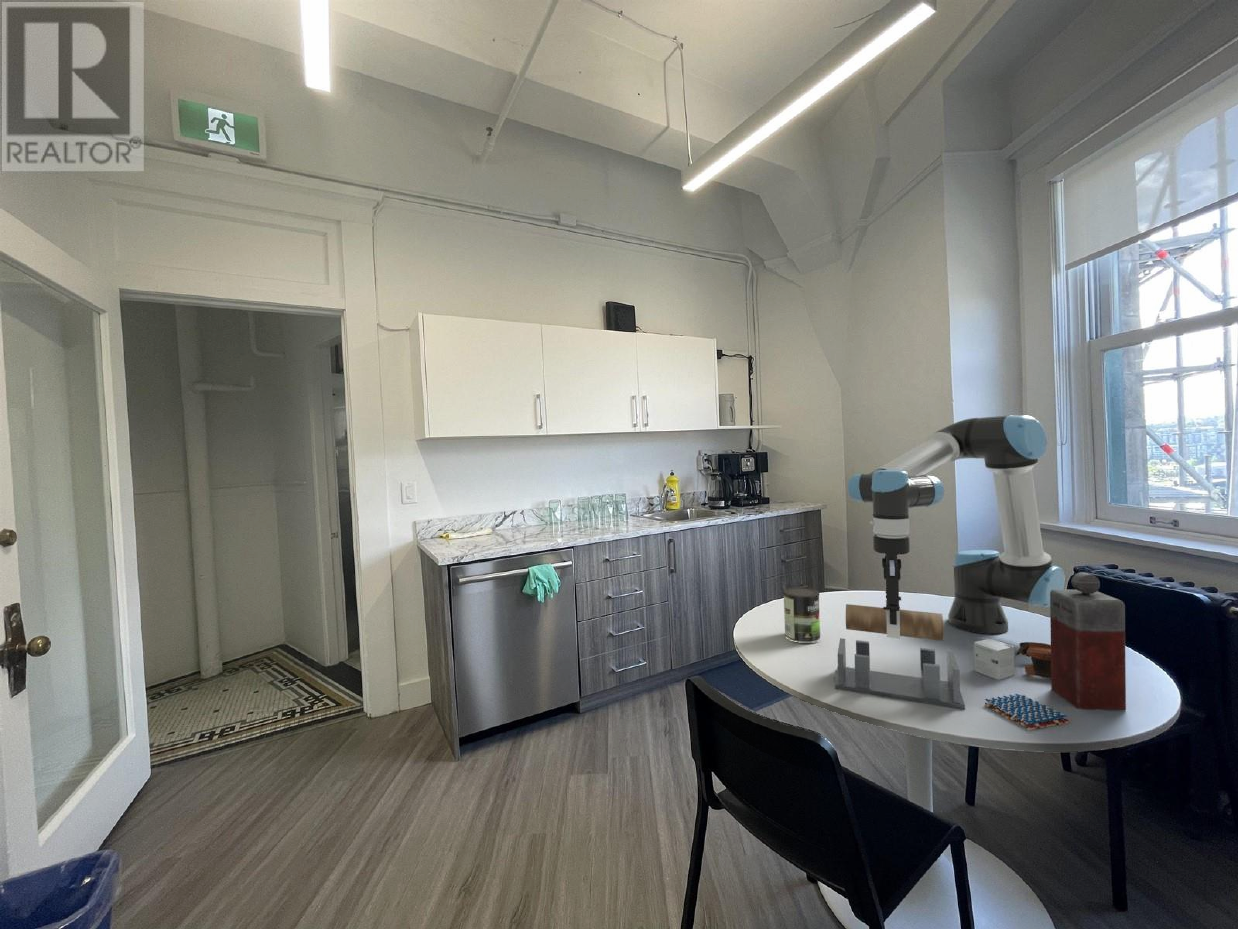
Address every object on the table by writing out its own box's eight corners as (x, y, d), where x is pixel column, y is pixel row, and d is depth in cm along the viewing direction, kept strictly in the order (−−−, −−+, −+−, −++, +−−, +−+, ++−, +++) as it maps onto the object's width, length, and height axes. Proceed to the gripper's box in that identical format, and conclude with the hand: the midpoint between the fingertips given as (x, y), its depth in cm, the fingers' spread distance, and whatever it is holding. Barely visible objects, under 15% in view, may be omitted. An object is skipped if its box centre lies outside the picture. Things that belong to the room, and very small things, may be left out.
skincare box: (973, 670, 128) (972, 641, 128) (989, 666, 130) (989, 637, 130) (998, 680, 122) (998, 650, 122) (1015, 675, 124) (1014, 646, 124)
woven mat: (1030, 733, 101) (1030, 723, 101) (982, 707, 112) (982, 698, 111) (1072, 726, 103) (1072, 716, 103) (1021, 701, 114) (1021, 692, 114)
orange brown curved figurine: (1010, 673, 126) (1007, 639, 130) (1030, 682, 130) (1026, 648, 134) (1070, 678, 117) (1065, 641, 120) (1089, 687, 120) (1084, 651, 124)
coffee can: (827, 637, 153) (825, 590, 153) (809, 647, 147) (808, 598, 146) (795, 629, 161) (794, 584, 161) (777, 638, 154) (776, 592, 154)
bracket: (957, 687, 120) (956, 651, 120) (965, 709, 110) (964, 671, 110) (837, 669, 132) (836, 637, 131) (834, 688, 122) (833, 653, 121)
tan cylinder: (940, 635, 119) (940, 610, 119) (943, 645, 114) (943, 619, 113) (847, 624, 128) (846, 600, 128) (845, 633, 123) (845, 608, 122)
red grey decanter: (1088, 685, 118) (1086, 566, 117) (1126, 711, 107) (1125, 578, 106) (1044, 684, 119) (1042, 566, 118) (1078, 708, 108) (1076, 578, 107)
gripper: (873, 528, 130) (875, 617, 131) (872, 541, 113) (875, 644, 114) (907, 529, 127) (909, 621, 128) (911, 543, 110) (913, 649, 111)
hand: (893, 632), depth 121 cm, fingers closed on tan cylinder, 6 cm apart
